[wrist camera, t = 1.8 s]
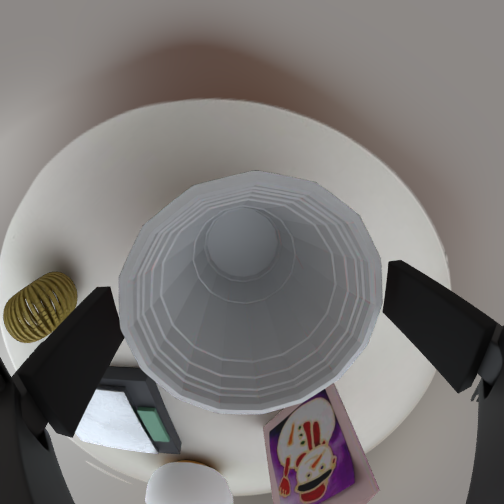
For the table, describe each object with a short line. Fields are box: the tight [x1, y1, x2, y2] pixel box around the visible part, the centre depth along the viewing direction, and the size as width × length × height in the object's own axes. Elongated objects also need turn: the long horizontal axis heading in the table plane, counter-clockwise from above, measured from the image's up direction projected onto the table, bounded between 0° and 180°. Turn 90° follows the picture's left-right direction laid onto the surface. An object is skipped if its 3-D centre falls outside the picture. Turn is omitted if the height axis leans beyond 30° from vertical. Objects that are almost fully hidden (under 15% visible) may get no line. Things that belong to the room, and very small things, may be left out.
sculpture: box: [3, 272, 78, 343], centre depth 17 cm, size 8×4×8 cm, turn 111°
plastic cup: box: [119, 170, 382, 414], centre depth 15 cm, size 11×11×12 cm
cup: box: [145, 460, 233, 504], centre depth 26 cm, size 12×12×10 cm
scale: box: [75, 367, 181, 454], centre depth 25 cm, size 14×15×3 cm
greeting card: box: [263, 383, 379, 504], centre depth 20 cm, size 11×7×15 cm, turn 147°
